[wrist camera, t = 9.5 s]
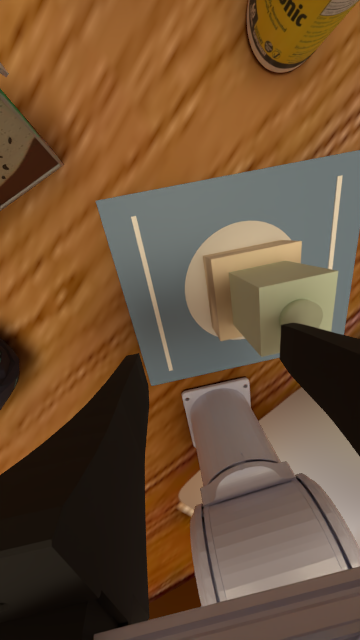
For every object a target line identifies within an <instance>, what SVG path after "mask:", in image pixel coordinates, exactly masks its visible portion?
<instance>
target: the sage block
mask: <svg viewBox="0 0 360 640" xmlns="http://www.w3.org/2000/svg"><path fill="white" fill-rule="evenodd" d="M337 278H338V271H337V270H331V269H326V268H321V267H316V266H311V265H306V264H301V263H296V262H291V261H286V260H285V261H281V262H276V263H271V264H266V265H262V266H257V267H252V268H247V269H243V270H238V271H233V272H229V281H230V292H231V303H232V314H233V325H234V326H235V327H236V328H237V330H238V331H239V332H240V333H241V334H242V335H243V337H244V338H245V339H246V340H247V341H248V342H249V343H250V345H251V346H252V347H253V348H254V349H255V350H256V351H257V353H258V354H259V355H260V356H261V357H264V356H268V355H273V354H277V353H280V338H281V325H283V324H288V323H299V324H304V325H308V326H312V327H315V328H319V329H323V330H326V331H330V332H331V329H332V320H333V312H334V304H335V295H336V287H337Z"/></svg>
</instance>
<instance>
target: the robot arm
mask: <svg viewBox="0 0 360 640" xmlns="http://www.w3.org/2000/svg"><path fill="white" fill-rule="evenodd" d="M280 360H281V362H282V363H283V365H284V366H285V368H286V369H287V370H288V372H289V373H290V374H291V376H292V377H293V378H294V379H295V380H296V381H297V382H298V383H299V384H300V386H301V387H302V388H303V389H304V390H305V391H306V392H307V393H308V394H309V395H310V396H311V397H312V398H313V399H314V401H315V402H316V403H317V404H318V405H319V406H320V407H321V408H322V409H323V410H324V411H325V412H326V414H328V416H329V417H330V418H331V419H332V420H333V422H334V423H335V424H336V426H337V427H338V428H339V429H340V431H341V432H342V433H343V435H344V436H345V437H346V438H347V440H348V441H349V442H350V444H351V445H352V447H353V448H354V449H355V451H356V452H357V453H358V455H359V456H360V339H357V338H353V337H349V336H345V335H341V334H337V333H334V332H330V331H326V330H323V329H319V328H315V327H312V326H308V325H304V324H299V323H288V324H283V325H281V338H280ZM245 384H246V385H245ZM244 385H245V386H244ZM182 398H183V403H184V407H185V411H186V416H187V420H188V424H189V429H190V433H191V437H192V441H193V446H194V447H196V450H197V455H198V460H199V465H200V470H201V475H202V481H203V486H204V487H201V488H200V491H201V496H202V502H203V504H199V505H197V506H195V509H194V513H193V515H192V518H191V522H190V535H191V547H192V555H193V563H194V569H195V575H196V581H197V586H198V591H199V596H200V601H201V605H202V607H199V608H195V609H191V610H187V611H183V612H180V613H175V614H171V615H167V616H163V617H160V618H156V619H152V620H148V619H149V602H148V579H147V557H146V525H145V447H146V436H147V424H148V412H149V390H148V383H147V380H146V376H145V373H144V369H143V366H142V362H141V359H140V355H139V353H138V354H133V355H128V356H126V357H125V358H124V360H123V361H122V362H121V364H120V365H119V366H118V368H117V369H116V370H115V372H114V373H113V374H112V375H111V377H110V378H109V379H108V380H107V382H106V383H105V384H104V385H103V386H102V387H101V389H100V390H99V391H98V392H97V393H96V394H95V395H94V397H93V398H92V399H91V400H90V401H89V402H88V403H87V404H86V405H85V406H84V407H83V408H82V409H81V410H80V411H79V412H78V413H77V414H76V415H75V416H74V417H73V418H72V419H71V420H70V421H69V422H67V423H66V424H65V425H64V426H63V427H62V428H60V429H59V430H58V431H57V432H56V433H55V434H53V435H52V436H51V437H50V438H49V439H48V440H46V441H45V442H44V443H43V444H41V445H40V446H39V447H38V448H36V449H35V450H34V451H32V452H31V453H30V454H29V455H27V456H26V457H24V458H23V459H22V460H20V461H19V462H18V463H16V464H15V465H14V466H12V467H11V468H10V469H8V470H7V471H5V472H4V473H2V474H1V475H0V640H360V549H359V546H358V544H357V542H356V540H355V539H354V537H353V535H352V533H351V531H350V530H349V528H348V526H347V524H346V523H345V521H344V519H343V517H342V516H341V514H340V512H339V511H338V509H337V508H336V506H335V505H334V503H333V502H332V500H331V499H330V498H329V496H328V495H327V494H326V492H325V491H324V490H323V489H322V488H321V487H320V486H319V485H318V484H317V483H316V482H315V481H313V480H311V479H310V478H308V477H307V476H306V475H304V474H302V473H301V474H297V475H294V473H293V471H292V469H291V468H290V466H289V464H288V463H287V462H280V460H279V458H278V456H277V454H276V452H275V451H274V449H273V447H272V445H271V443H270V442H269V440H268V438H267V436H266V434H265V433H264V431H263V429H262V427H261V425H260V424H259V422H258V420H257V418H256V416H255V415H254V413H253V411H252V409H251V402H250V385H249V380H248V379H247V378H246V377H245V378H240V379H235V380H231V381H226V382H222V383H218V384H213V385H209V386H204V387H200V388H195V389H191V390H186V391H184V392H182ZM185 398H188V399H185Z"/></svg>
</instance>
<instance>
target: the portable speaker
mask: <svg viewBox="0 0 360 640" xmlns="http://www.w3.org/2000/svg"><path fill="white" fill-rule="evenodd" d="M18 379H19V358H18V356H17V355H16V353H15V352H14V350H13V349H12V348H11V347H10V346H9V345H8V344H7V343H6V342H5V341H4V340H2V339H1V338H0V410H1V408H2V407H3V405H4V404H5V402H6V401H7V399H8V398H9V396H10V395H11V393H12V391H13V390H14V388H15V386H16V384H17V382H18Z"/></svg>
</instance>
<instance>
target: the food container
mask: <svg viewBox="0 0 360 640" xmlns="http://www.w3.org/2000/svg"><path fill="white" fill-rule="evenodd" d="M0 73H1V74H2V75H4V76H5V77H7V76H8V74H9V73H8V72H7V71H6V69H5V68H4V67H3V65H2V64H1V63H0ZM63 165H64V164H63V163H62V162H61V160H60V159H59V158H58V156H57V155H56V154H55V152H54V151H53V150H52V149H51V147H50V146H49V145H48V144H47V143H46V142H45V140H44V139H43V138H42V137H41V136H40V135H39V133H38V132H37V131H36V130H35V129H34V128H33V126H32V125H31V124H30V123H29V122H28V121H27V119H26V118H25V117H24V116H23V115H22V114H21V112H20V111H19V110H18V109H17V108H16V107H15V105H14V104H13V103H12V102H11V101H10V100H9V98H8V97H7V96H6V95H5V94H4V93H3V91H2V90H1V89H0V211H1V210H2V209H4V208H5V207H6V206H8V205H9V204H11V203H12V202H13V201H15V200H16V199H17V198H19V197H20V196H22V195H23V194H24V193H26V192H27V191H29V190H30V189H31V188H33V187H34V186H35V185H37V184H38V183H40V182H41V181H42V180H44V179H45V178H47V177H48V176H49V175H51V174H52V173H53V172H55V171H56V170H58V169H59V168H60V167H62V166H63Z"/></svg>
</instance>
